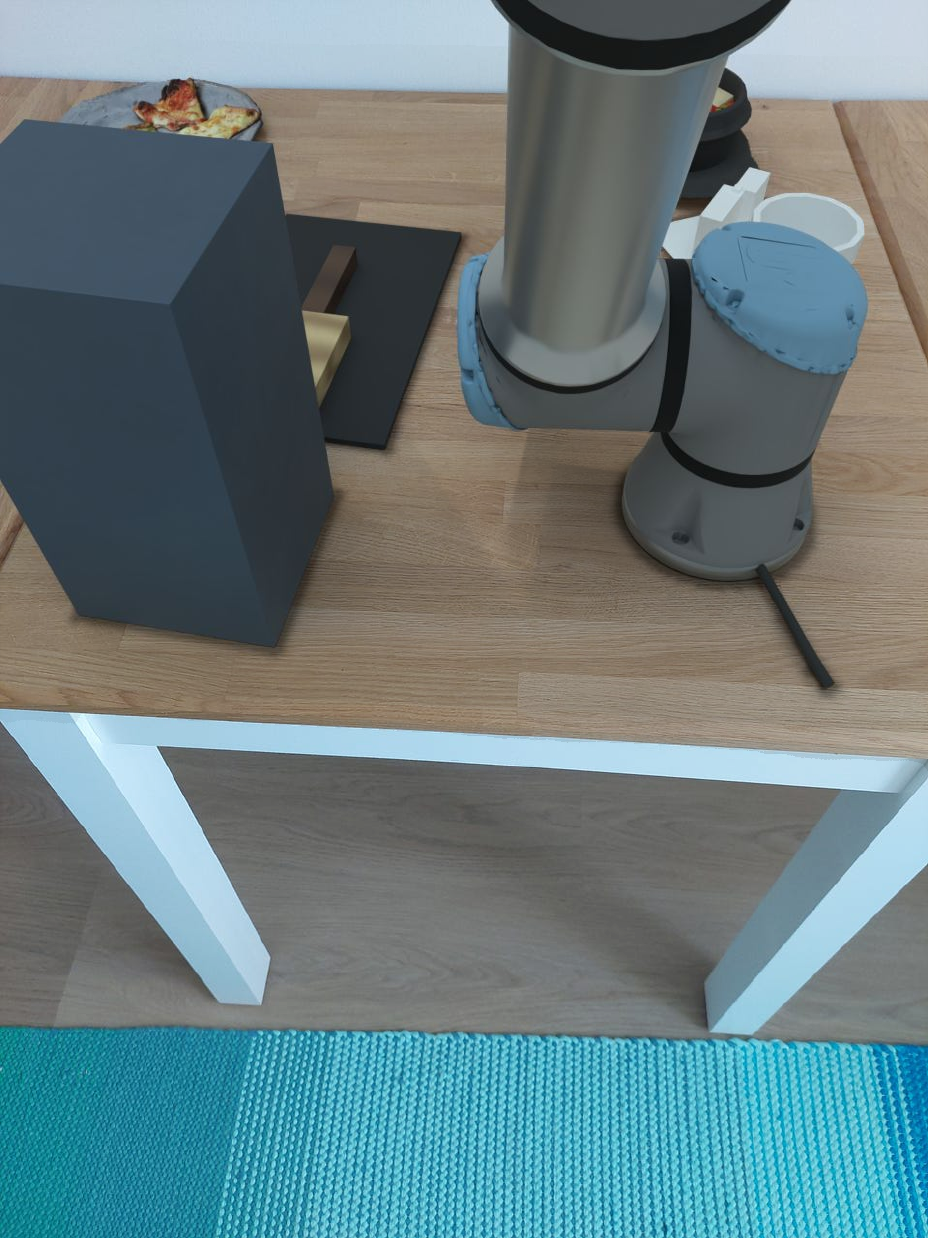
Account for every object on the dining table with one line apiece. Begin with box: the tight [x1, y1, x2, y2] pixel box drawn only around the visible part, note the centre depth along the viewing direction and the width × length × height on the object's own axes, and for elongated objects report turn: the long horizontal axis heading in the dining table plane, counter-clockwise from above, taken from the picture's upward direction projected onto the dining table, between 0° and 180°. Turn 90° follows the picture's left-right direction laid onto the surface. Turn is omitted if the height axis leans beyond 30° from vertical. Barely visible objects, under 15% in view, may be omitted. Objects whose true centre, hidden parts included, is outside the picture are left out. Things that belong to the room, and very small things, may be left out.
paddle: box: [301, 245, 357, 408], centre depth 90 cm, size 24×8×2 cm, turn 168°
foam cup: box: [751, 192, 865, 265], centre depth 85 cm, size 10×9×13 cm
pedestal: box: [0, 118, 335, 648], centre depth 64 cm, size 16×16×30 cm
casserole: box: [679, 67, 761, 199], centre depth 108 cm, size 25×19×8 cm
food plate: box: [58, 77, 264, 141], centre depth 113 cm, size 25×23×4 cm
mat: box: [285, 213, 462, 451], centre depth 93 cm, size 34×20×1 cm, turn 169°
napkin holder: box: [662, 167, 771, 259], centre depth 99 cm, size 15×11×6 cm
